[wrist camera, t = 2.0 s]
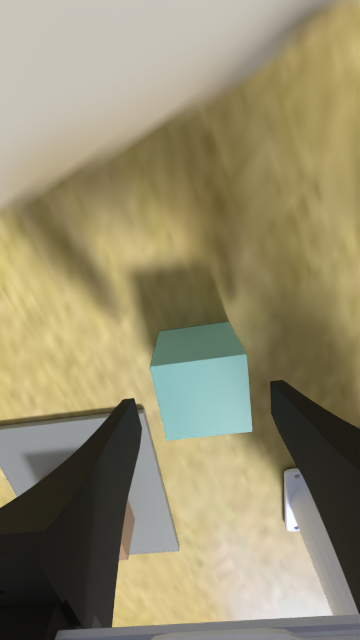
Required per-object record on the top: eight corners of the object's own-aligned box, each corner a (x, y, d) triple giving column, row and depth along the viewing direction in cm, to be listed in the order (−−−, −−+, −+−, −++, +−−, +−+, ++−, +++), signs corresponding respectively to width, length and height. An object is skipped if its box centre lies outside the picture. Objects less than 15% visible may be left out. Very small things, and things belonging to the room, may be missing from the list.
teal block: (228, 321, 16) (246, 354, 12) (234, 380, 18) (252, 431, 13) (159, 331, 17) (149, 367, 12) (171, 388, 18) (166, 440, 13)
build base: (144, 408, 19) (135, 444, 15) (179, 545, 24) (178, 592, 21) (-15, 427, 20) (-55, 465, 16) (55, 554, 25) (35, 601, 22)
